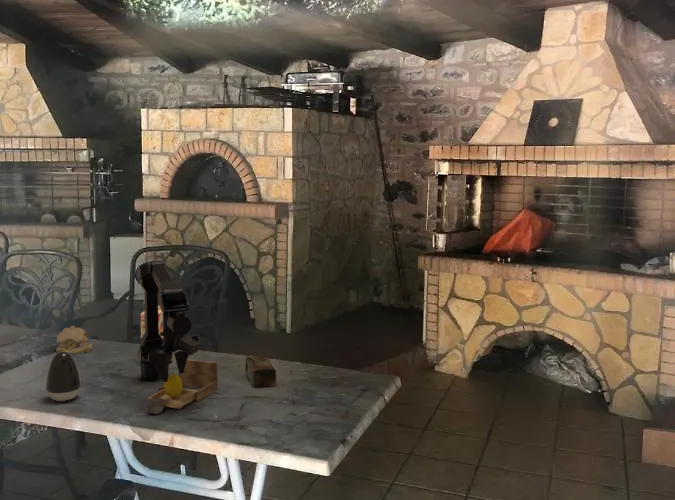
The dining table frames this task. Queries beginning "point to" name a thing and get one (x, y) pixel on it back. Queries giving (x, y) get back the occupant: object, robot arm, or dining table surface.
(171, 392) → the lemon
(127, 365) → the dining table surface
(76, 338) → the ceramic model
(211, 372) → the open wooden box
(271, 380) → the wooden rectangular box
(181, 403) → the wooden drawer
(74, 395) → the brown tapered dome
